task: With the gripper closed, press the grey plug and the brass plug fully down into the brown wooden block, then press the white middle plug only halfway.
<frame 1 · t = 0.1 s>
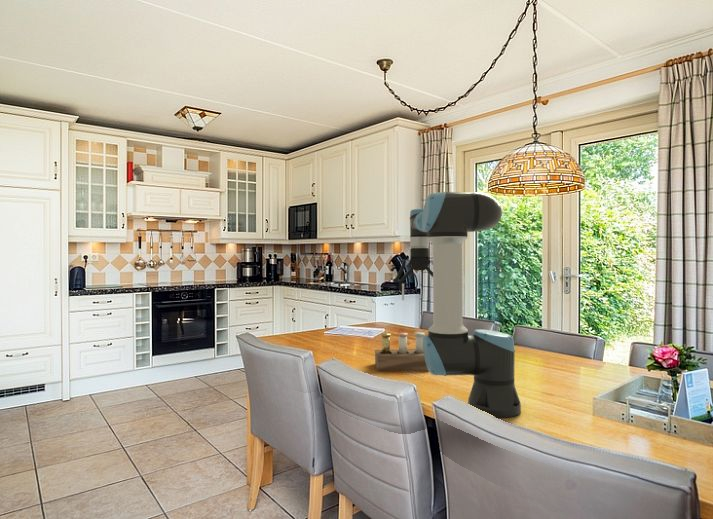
hand: (419, 300, 184), 28 cm above the table, fingers open, 13 cm apart
coffee jar: (449, 354, 211), on the table
brass plug: (385, 344, 187), point 9 cm above the table, slide at 0.0 cm
brown wooden block: (403, 366, 187), on the table
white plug: (402, 344, 187), point 9 cm above the table, slide at 0.0 cm
grey plug: (419, 343, 187), point 9 cm above the table, slide at 0.0 cm
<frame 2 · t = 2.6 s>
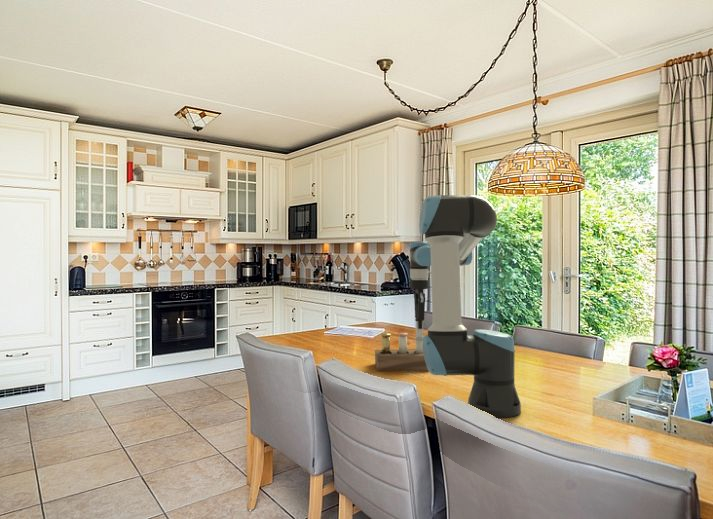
hand: (419, 336, 187), 13 cm above the table, fingers closed
grey plug: (419, 347, 187), point 8 cm above the table, slide at 1.6 cm, touching gripper
everything else where it was.
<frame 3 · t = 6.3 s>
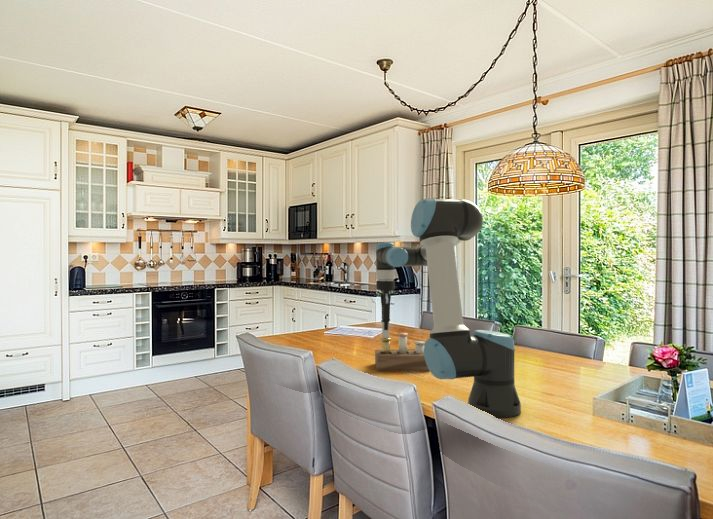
hand: (385, 337, 187), 12 cm above the table, fingers closed
brass plug: (385, 348, 187), point 8 cm above the table, slide at 1.8 cm, touching gripper
grey plug: (419, 352, 187), point 6 cm above the table, slide at 3.6 cm
everything else where it was.
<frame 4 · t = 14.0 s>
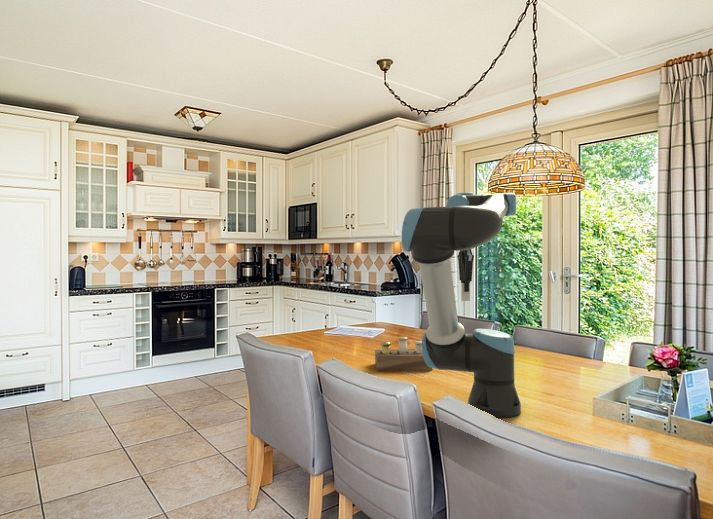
hand: (465, 300, 166), 29 cm above the table, fingers closed
brass plug: (385, 353, 187), point 6 cm above the table, slide at 3.6 cm
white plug: (402, 348, 187), point 8 cm above the table, slide at 1.7 cm
everything else where it was.
at the end: grey plug slide at 3.6 cm; brass plug slide at 3.6 cm; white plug slide at 1.7 cm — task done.
